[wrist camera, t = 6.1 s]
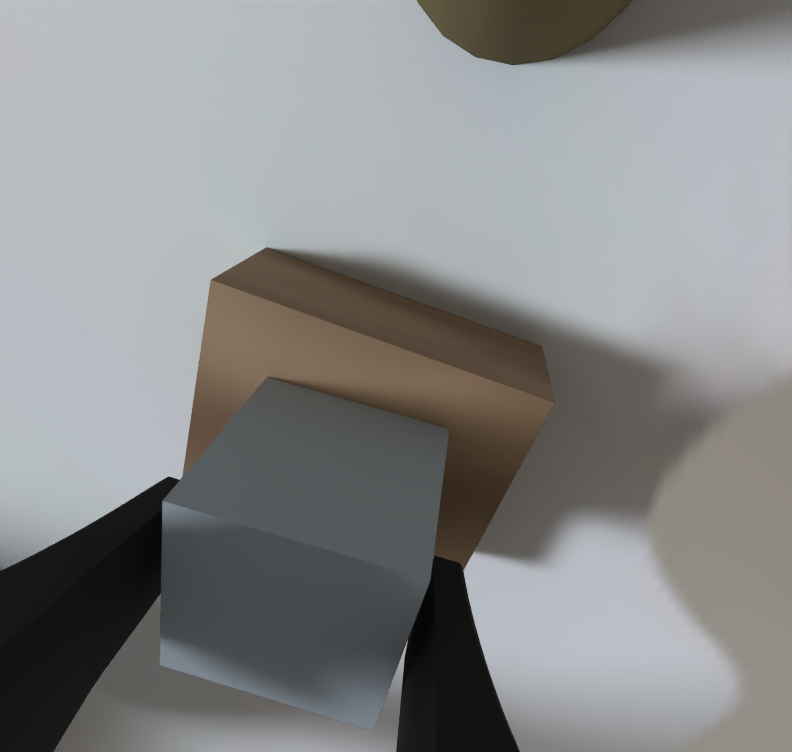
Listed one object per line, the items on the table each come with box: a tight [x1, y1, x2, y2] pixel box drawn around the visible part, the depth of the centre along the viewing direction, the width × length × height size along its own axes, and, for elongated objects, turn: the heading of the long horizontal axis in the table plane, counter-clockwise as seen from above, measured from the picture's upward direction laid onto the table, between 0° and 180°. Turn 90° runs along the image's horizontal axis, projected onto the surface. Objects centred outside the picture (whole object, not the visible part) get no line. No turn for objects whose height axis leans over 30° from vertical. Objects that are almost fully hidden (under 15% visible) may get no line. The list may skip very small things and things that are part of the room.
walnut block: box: [183, 248, 555, 570], centre depth 17 cm, size 9×9×4 cm
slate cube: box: [160, 377, 449, 731], centre depth 13 cm, size 5×5×5 cm
